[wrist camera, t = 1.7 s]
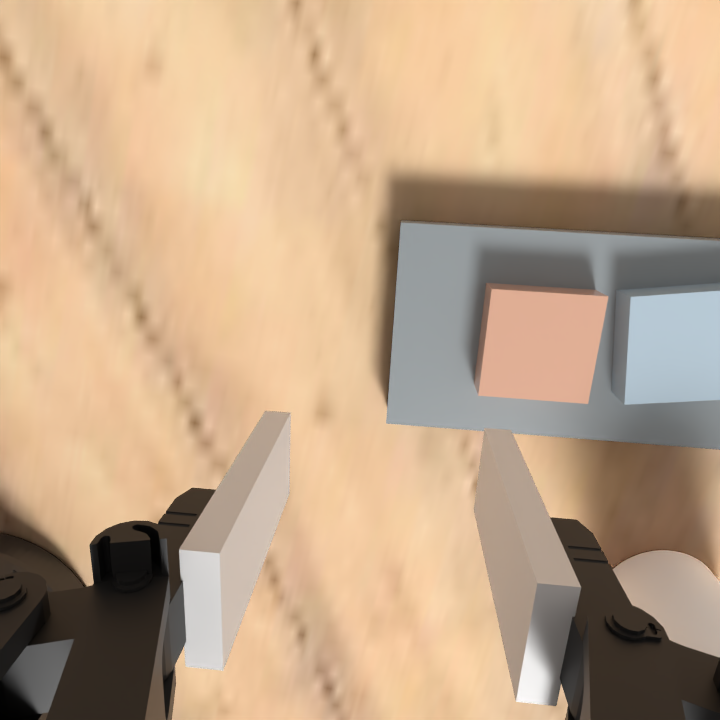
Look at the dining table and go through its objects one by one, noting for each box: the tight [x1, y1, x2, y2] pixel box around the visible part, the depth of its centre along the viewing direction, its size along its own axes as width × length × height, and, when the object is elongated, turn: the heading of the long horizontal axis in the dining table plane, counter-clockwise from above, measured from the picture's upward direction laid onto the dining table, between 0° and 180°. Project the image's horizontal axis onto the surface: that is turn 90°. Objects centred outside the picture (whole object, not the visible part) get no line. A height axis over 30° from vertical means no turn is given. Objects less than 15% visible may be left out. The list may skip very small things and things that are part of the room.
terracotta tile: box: [474, 283, 608, 404], centre depth 30 cm, size 6×6×2 cm
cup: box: [613, 550, 720, 658], centre depth 31 cm, size 8×8×16 cm
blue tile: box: [611, 283, 720, 405], centre depth 30 cm, size 6×6×2 cm
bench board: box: [386, 220, 720, 450], centre depth 32 cm, size 22×12×2 cm, turn 87°
